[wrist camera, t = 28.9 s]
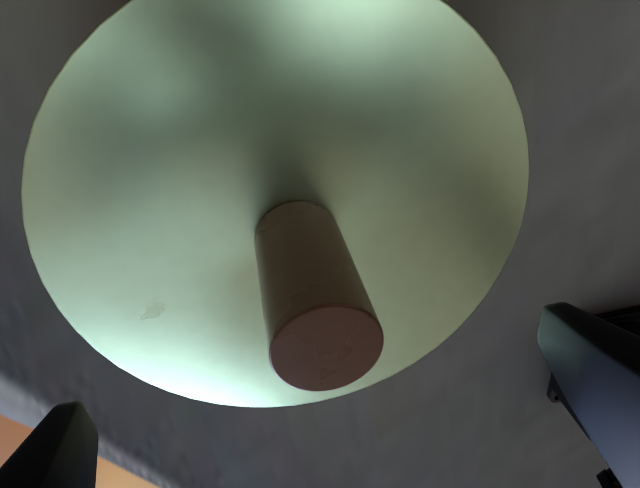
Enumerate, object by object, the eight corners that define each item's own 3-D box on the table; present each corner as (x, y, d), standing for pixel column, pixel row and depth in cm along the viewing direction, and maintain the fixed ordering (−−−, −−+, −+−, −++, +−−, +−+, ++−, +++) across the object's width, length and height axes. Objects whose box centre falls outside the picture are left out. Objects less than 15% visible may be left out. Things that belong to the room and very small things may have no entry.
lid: (542, -81, 12) (764, -95, 7) (488, 342, 19) (577, 474, 14) (-76, -10, 10) (-321, 33, 6) (127, 417, 18) (95, 589, 13)
